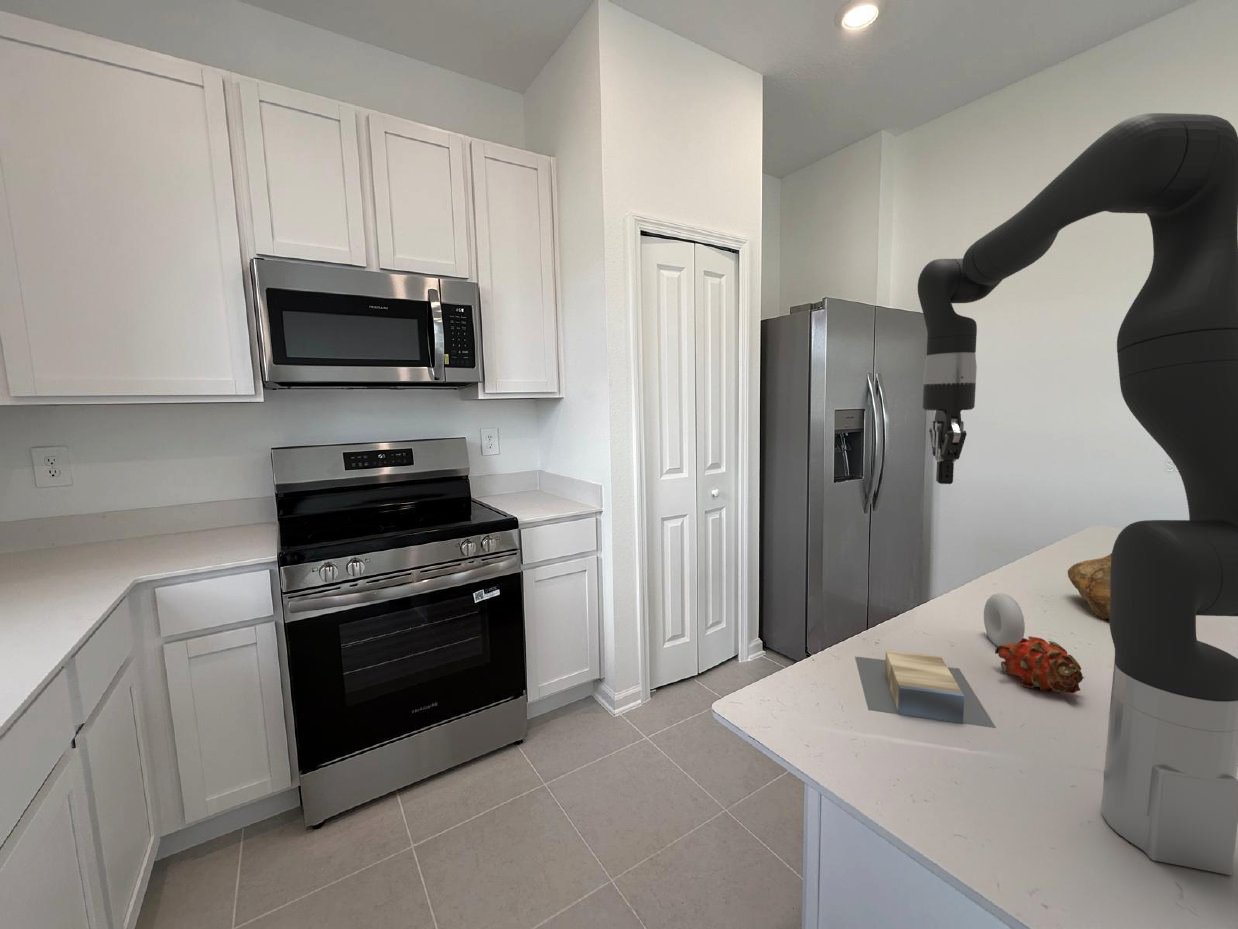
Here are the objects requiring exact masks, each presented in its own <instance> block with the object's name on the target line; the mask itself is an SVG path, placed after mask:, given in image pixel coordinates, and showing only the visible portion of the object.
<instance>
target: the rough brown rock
mask: <svg viewBox="0 0 1238 929" xmlns="http://www.w3.org/2000/svg"><path fill="white" fill-rule="evenodd" d="M1111 556H1112V552H1111V553H1110V554H1108V555H1106V556H1103V557H1100V558H1096V559H1095V558H1094V559H1088V560H1083V561H1080V562H1077V563H1075V564H1073V565H1071V566H1070V567H1069V568H1068V569H1067V577H1068V578H1069V582H1071V585H1073V587H1074V588H1075V589H1076V590H1077V591H1078V593H1079V595H1080V596H1081V597H1082V598H1083V600H1084V601H1086V602H1087V603H1088V606H1089V607H1090V608H1091V610H1092V611H1093V613H1095V615H1096V616H1097V617H1099V618H1100V619H1102V620H1105V621H1106V620H1110V567H1111Z"/></svg>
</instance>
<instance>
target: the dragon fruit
mask: <svg viewBox="0 0 1238 929" xmlns="http://www.w3.org/2000/svg"><path fill="white" fill-rule="evenodd" d="M994 654H995V655H996V654H997V655H998V657H999V658H1000V659H1003V661H1000V667H1001V669H1002V672H1003V673H1004V674H1009V675H1014V676H1018V677H1019V678H1020V679H1022V680H1021V685H1022V687H1025V688H1028V689H1036V687H1038V688H1039V689H1040V691H1042V692H1043V691H1044V692H1045V691H1046V692H1047V693H1049V694H1051V693H1063V692H1065V693H1070V694H1074V693H1077V692H1081V689H1080V686H1079V685H1080V683H1081V682H1082V681H1083V679H1085V677H1084V675H1083V673H1082V671H1081V670H1082V666H1081V665H1080V664H1079V662H1078V661H1077V659H1075V657H1074V656H1073V655H1071V654H1068V651H1067V650H1066V649H1065V648H1064V647H1062V646H1061V645H1060V644H1059V643H1057V642H1055V641H1051V640H1049V641H1048V642H1047V640H1045V639H1043V638H1041V637H1037V636H1028V637H1027V638H1023V639H1022V640H1021V641H1020V642H1019V643H1010V644H1007V645H1000V646H999V647H998V646H997V647H996V648H995V649H994Z"/></svg>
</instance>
